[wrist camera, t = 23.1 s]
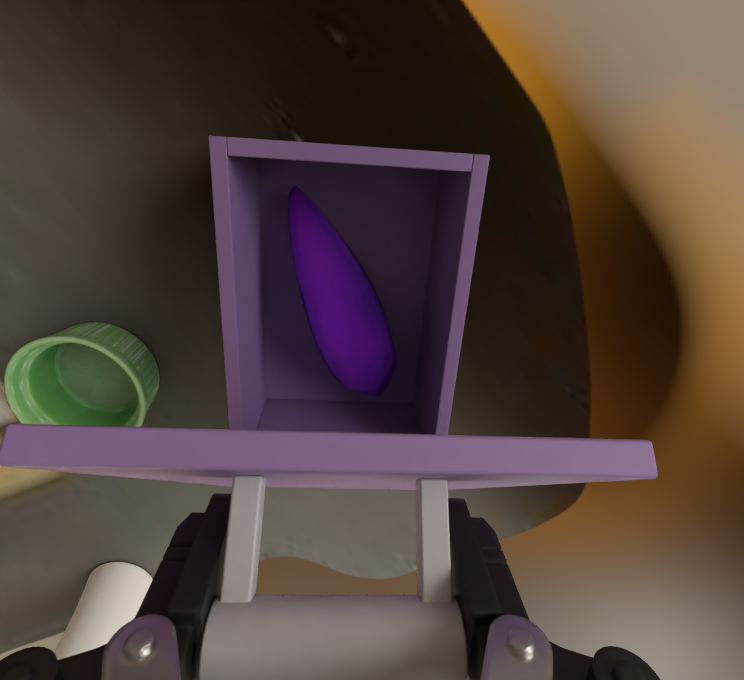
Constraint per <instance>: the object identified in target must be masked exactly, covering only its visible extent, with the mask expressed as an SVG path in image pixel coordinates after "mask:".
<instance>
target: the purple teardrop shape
mask: <svg viewBox="0 0 744 680" xmlns="http://www.w3.org/2000/svg"><path fill="white" fill-rule="evenodd" d="M288 224H289V234H290V242H291V250H292V256H293V262H294V267H295V272H296V277H297V282H298V286H299V290H300V294H301V298H302V302H303V306H304V310H305V313H306V317H307V320H308V323H309V326H310V330H311V333H312V336H313V339H314V342H315V345H316V347H317V349H318V351H319V353H320V355H321V357H322V358H323V360H324V362H325V363H326V365H327V366H328V368H329V370H330V371H331V373H332V374H333V376H334V377H335V378H336V379H337V380H338V381H339V382H340V383H341V384H342V385H343V386H344V387H346V388H348V389H352V390H356V391H359V392H363V393H366V394H370V395H373V396H380V395H381V394H382V393H383V392H384V390H385V389H386V387H387V386H388V384H389V382H390V380H391V377H392V375H393V372H394V370H395V366H396V353H395V348H394V345H393V340H392V337H391V333H390V329H389V326H388V323H387V319H386V316H385V313H384V309H383V306H382V304H381V302H380V300H379V297H378V295H377V293H376V291H375V289H374V287H373V285H372V283H371V281H370V279H369V277H368V276H367V274H366V272H365V271H364V269H363V267H362V266H361V264H360V263H359V261H358V259H357V258H356V256H355V255H354V253H353V252H352V250H351V249H350V248H349V246H348V245H347V244H346V242H345V241H344V239H343V238H342V237H341V235H340V234H339V233H338V232H337V230H336V229H335V228H334V226H333V225H332V224H331V222H330V221H329V220H328V219H327V217H326V216H325V215H324V214H323V213H322V212H321V210H320V209H319V208H318V207H317V206H316V205H315V204H314V202H313V201H312V200H311V199H310V198H309V197H308V196H307V195H306V194H305V193H304V192H303V191H302V190H301V189H299V188H298V187H297V186H294V187H293V188H292V189H291V191H290V194H289V199H288Z"/></svg>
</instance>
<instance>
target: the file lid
mask: <svg viewBox="0 0 744 680" xmlns="http://www.w3.org/2000/svg"><path fill="white" fill-rule="evenodd" d="M0 466H5V467H16V468H27V469H39V470H50V471H61V472H73V473H84V474H96V475H107V476H118V477H130V478H141V479H152V480H164V481H175V482H187V483H198V484H209V485H221V486H232V492H231V501H230V509H229V518H228V527H227V536H226V545H225V554H224V563H223V572H222V581H221V590H220V595H219V596H217V597H216V598H215V599H214V601H213V603H212V605H211V607H210V610H209V613H208V616H207V619H206V623H205V627H204V631H203V636H202V642H201V648H200V655H199V666H198V680H466V676H467V643H466V634H465V627H464V622H463V617H462V613H461V609H460V607H459V604H458V602H457V600H456V598H455V597H454V596H452V587H451V561H450V535H449V509H448V490H451V489H470V488H489V487H508V486H527V485H546V484H565V483H584V482H602V481H620V480H621V481H622V480H641V479H654V478H656V477H657V476H658V472H657V467H656V462H655V456H654V452H653V445H652V443H651V441H648V440H635V439H596V438H595V439H594V438H556V437H517V436H478V435H439V434H400V433H361V432H322V431H283V430H244V429H204V428H165V427H126V426H87V425H48V424H10V425H7V427H6V429H5V432H4V436H3V439H2V443H1V446H0ZM265 487H296V488H355V489H414V490H416V547H417V595H256V586H257V574H258V563H259V552H260V541H261V529H262V518H263V507H264V496H265Z"/></svg>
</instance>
